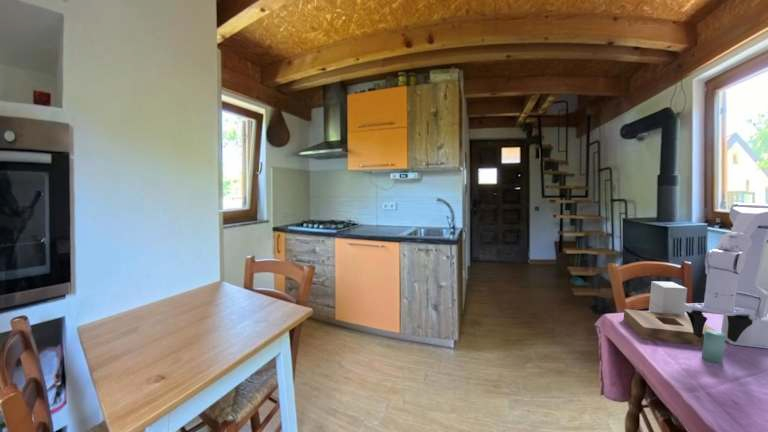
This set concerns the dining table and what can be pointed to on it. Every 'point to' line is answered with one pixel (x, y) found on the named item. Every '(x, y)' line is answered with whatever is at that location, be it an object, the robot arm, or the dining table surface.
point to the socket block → (664, 327)
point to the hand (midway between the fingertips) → (714, 338)
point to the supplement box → (667, 298)
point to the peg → (713, 346)
